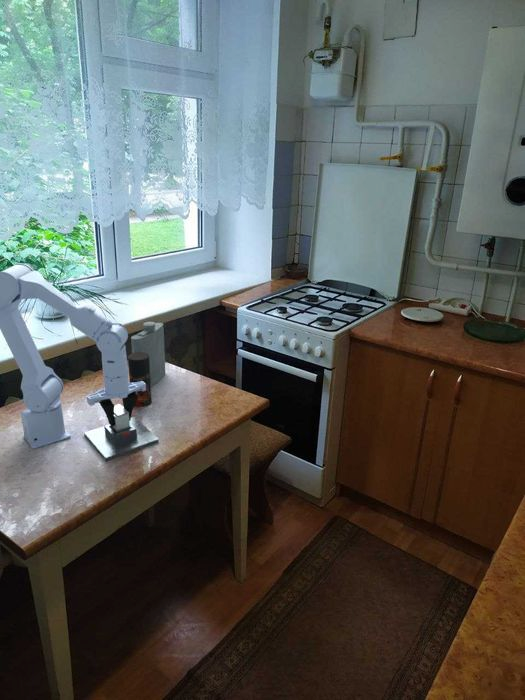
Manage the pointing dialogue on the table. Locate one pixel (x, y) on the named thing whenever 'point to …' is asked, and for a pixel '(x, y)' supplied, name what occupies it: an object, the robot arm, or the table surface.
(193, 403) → the table surface
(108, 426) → the base plate with holder
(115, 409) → the column
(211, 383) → the table surface
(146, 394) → the deodorant
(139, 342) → the hip flask
